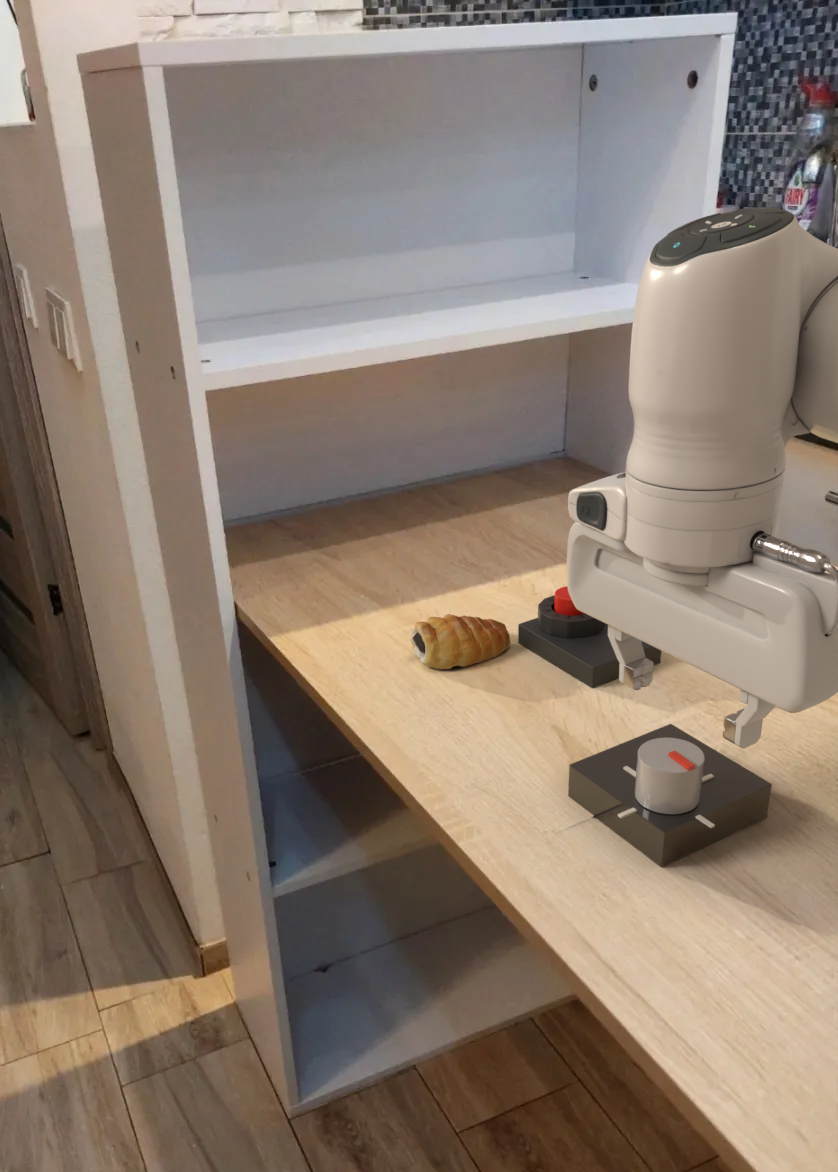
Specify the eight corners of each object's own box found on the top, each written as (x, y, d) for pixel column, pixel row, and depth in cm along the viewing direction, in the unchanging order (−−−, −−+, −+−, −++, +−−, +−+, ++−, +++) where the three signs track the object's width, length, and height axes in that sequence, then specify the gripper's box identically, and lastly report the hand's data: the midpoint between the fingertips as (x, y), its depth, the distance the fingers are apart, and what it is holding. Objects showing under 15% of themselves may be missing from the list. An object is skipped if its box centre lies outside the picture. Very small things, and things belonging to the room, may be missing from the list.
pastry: (494, 630, 103) (494, 595, 101) (521, 659, 98) (522, 623, 96) (405, 647, 101) (404, 612, 99) (428, 678, 96) (426, 642, 94)
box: (582, 621, 103) (583, 585, 101) (660, 663, 95) (664, 625, 93) (517, 643, 100) (517, 606, 98) (592, 689, 92) (594, 650, 90)
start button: (574, 599, 99) (574, 583, 98) (595, 611, 97) (596, 594, 96) (547, 608, 98) (547, 591, 97) (568, 620, 96) (569, 603, 95)
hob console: (667, 755, 82) (670, 721, 80) (781, 827, 73) (787, 791, 72) (554, 802, 78) (555, 768, 76) (660, 885, 69) (664, 848, 67)
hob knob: (621, 789, 73) (624, 744, 72) (672, 771, 75) (676, 727, 73) (661, 821, 70) (665, 775, 68) (713, 803, 71) (719, 757, 69)
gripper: (891, 547, 54) (853, 763, 61) (623, 465, 71) (617, 644, 77) (808, 579, 52) (778, 801, 59) (550, 487, 68) (551, 670, 75)
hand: (685, 711), depth 68 cm, fingers open, 8 cm apart
